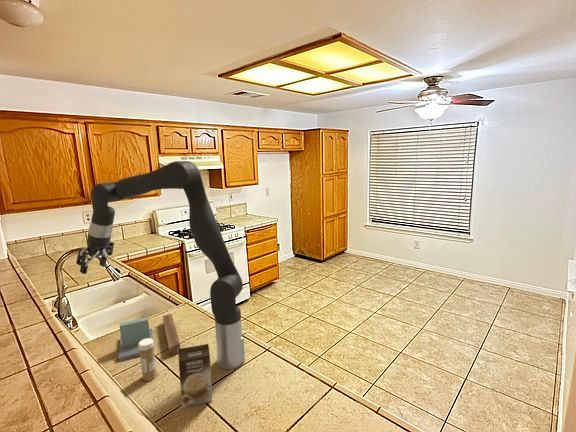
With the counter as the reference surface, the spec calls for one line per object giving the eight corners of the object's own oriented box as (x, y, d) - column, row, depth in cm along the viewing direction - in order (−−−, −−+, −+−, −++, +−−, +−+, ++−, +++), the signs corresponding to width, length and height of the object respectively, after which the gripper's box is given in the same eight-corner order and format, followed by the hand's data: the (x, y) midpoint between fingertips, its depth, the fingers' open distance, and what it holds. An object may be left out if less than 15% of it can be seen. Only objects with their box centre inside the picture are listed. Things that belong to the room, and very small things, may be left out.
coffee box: (181, 409, 89) (177, 361, 86) (181, 394, 95) (177, 348, 92) (213, 401, 92) (209, 354, 89) (211, 386, 98) (208, 342, 95)
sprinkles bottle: (158, 378, 102) (154, 342, 99) (143, 383, 99) (139, 347, 97) (155, 370, 106) (151, 336, 103) (141, 375, 103) (137, 340, 101)
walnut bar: (172, 321, 138) (171, 313, 137) (180, 353, 115) (179, 343, 115) (163, 323, 136) (162, 315, 136) (169, 356, 114) (168, 347, 113)
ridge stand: (152, 331, 130) (149, 309, 128) (154, 352, 116) (151, 327, 114) (121, 338, 125) (118, 315, 123) (118, 361, 110) (115, 335, 108)
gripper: (92, 241, 106) (84, 280, 110) (122, 232, 119) (115, 266, 123) (75, 233, 107) (68, 271, 111) (107, 224, 120) (100, 259, 125)
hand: (93, 269), depth 117 cm, fingers open, 8 cm apart
